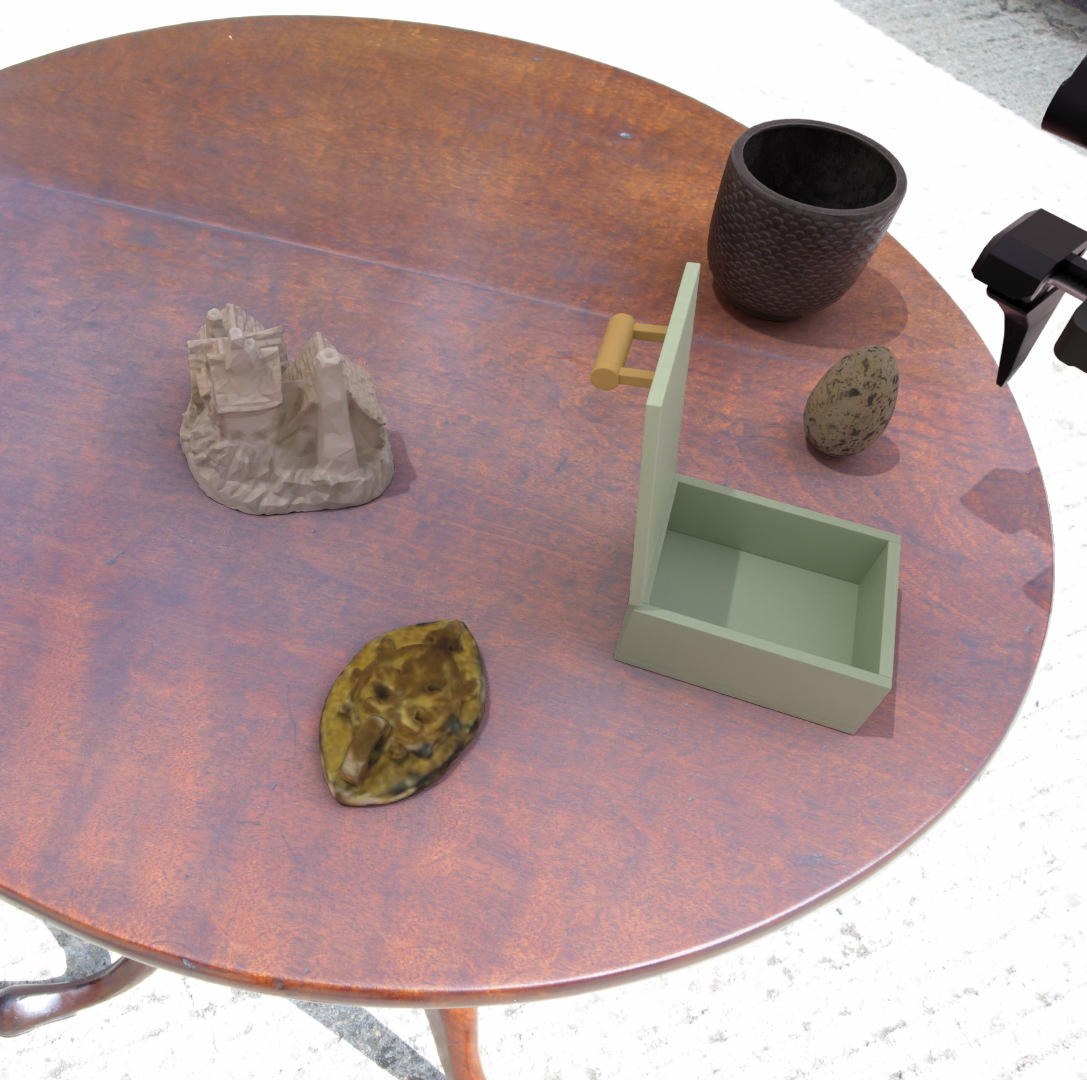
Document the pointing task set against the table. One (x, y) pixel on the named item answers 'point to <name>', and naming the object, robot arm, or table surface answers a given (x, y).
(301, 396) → the ceramic cottage
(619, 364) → the chest lid
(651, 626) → the chest
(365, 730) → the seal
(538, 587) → the table surface
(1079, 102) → the robot arm
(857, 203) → the planter
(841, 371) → the decorative egg
